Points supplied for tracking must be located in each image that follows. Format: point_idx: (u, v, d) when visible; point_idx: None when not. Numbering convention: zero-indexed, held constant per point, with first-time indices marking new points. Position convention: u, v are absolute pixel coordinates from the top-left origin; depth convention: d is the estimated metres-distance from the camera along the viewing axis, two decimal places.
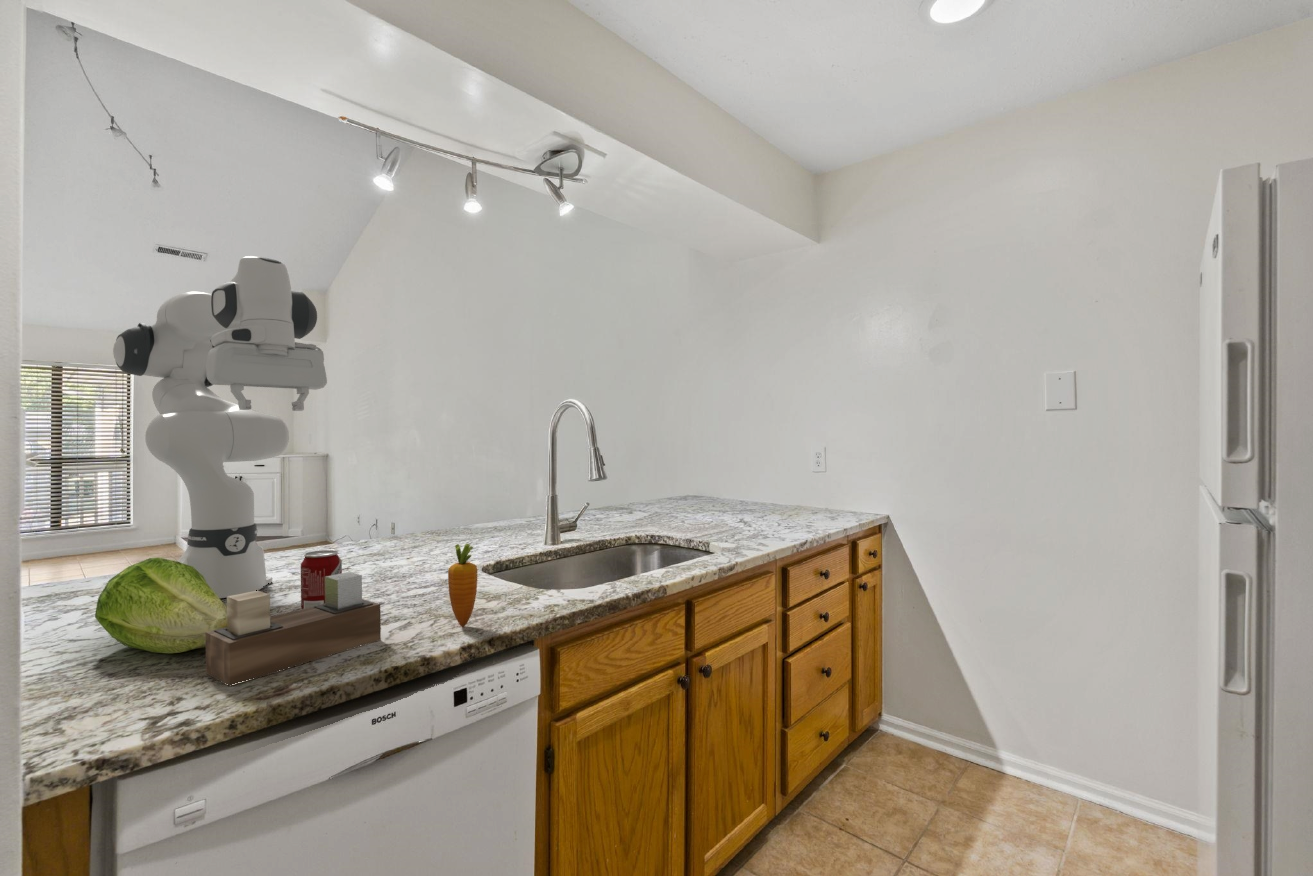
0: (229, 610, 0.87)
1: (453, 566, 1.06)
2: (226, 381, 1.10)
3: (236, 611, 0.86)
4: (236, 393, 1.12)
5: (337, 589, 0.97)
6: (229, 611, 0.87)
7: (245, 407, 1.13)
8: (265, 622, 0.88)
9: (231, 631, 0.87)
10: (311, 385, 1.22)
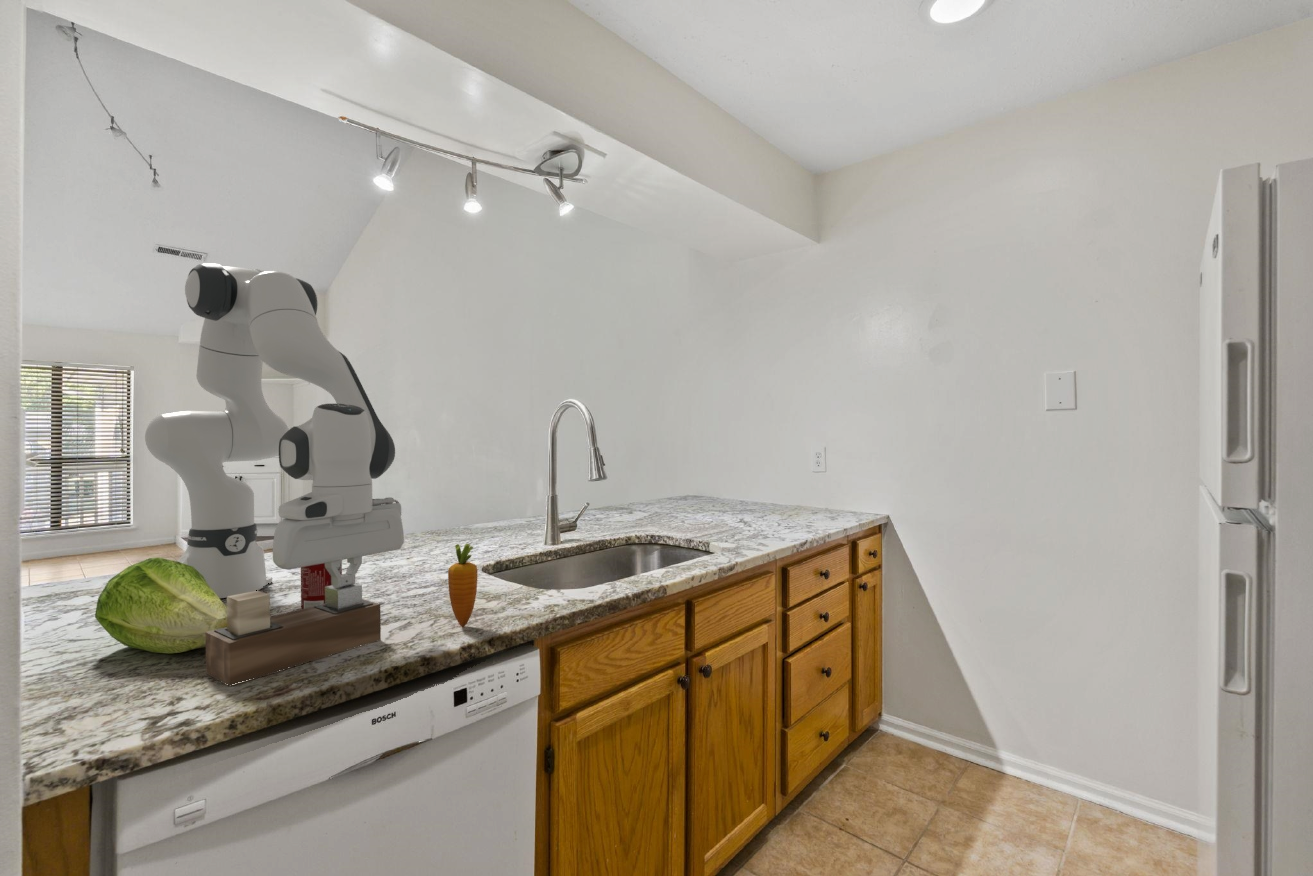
0: (229, 610, 0.87)
1: (453, 566, 1.06)
2: (296, 567, 0.92)
3: (236, 611, 0.86)
4: (332, 571, 0.98)
5: (337, 599, 0.97)
6: (229, 611, 0.87)
7: (340, 586, 0.98)
8: (265, 622, 0.88)
9: (231, 631, 0.87)
10: (387, 550, 1.04)
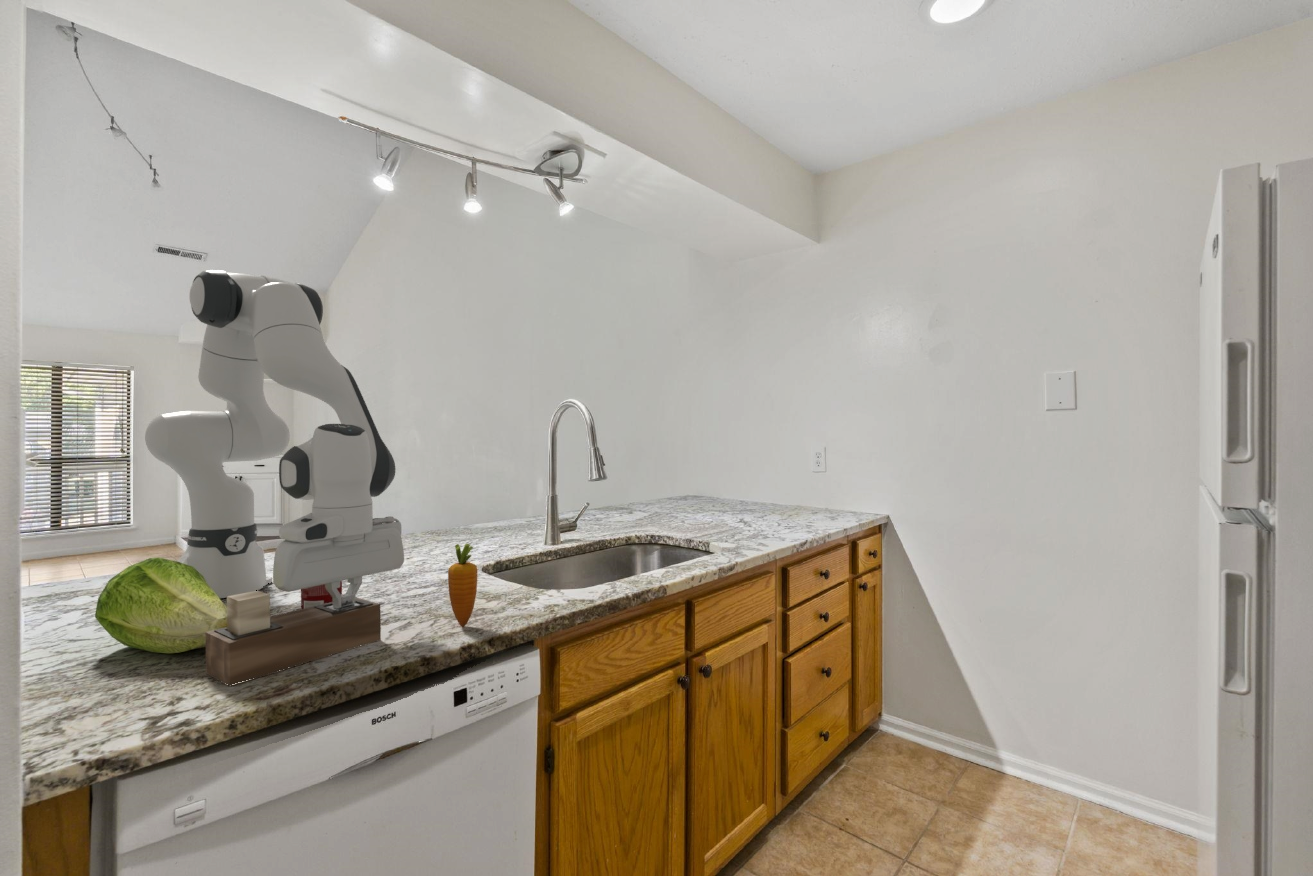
0: (229, 610, 0.87)
1: (453, 566, 1.06)
2: (296, 589, 0.92)
3: (236, 611, 0.86)
4: (332, 592, 0.98)
5: None
6: (229, 611, 0.87)
7: (340, 606, 0.99)
8: (265, 622, 0.88)
9: (231, 631, 0.87)
10: (387, 569, 1.04)
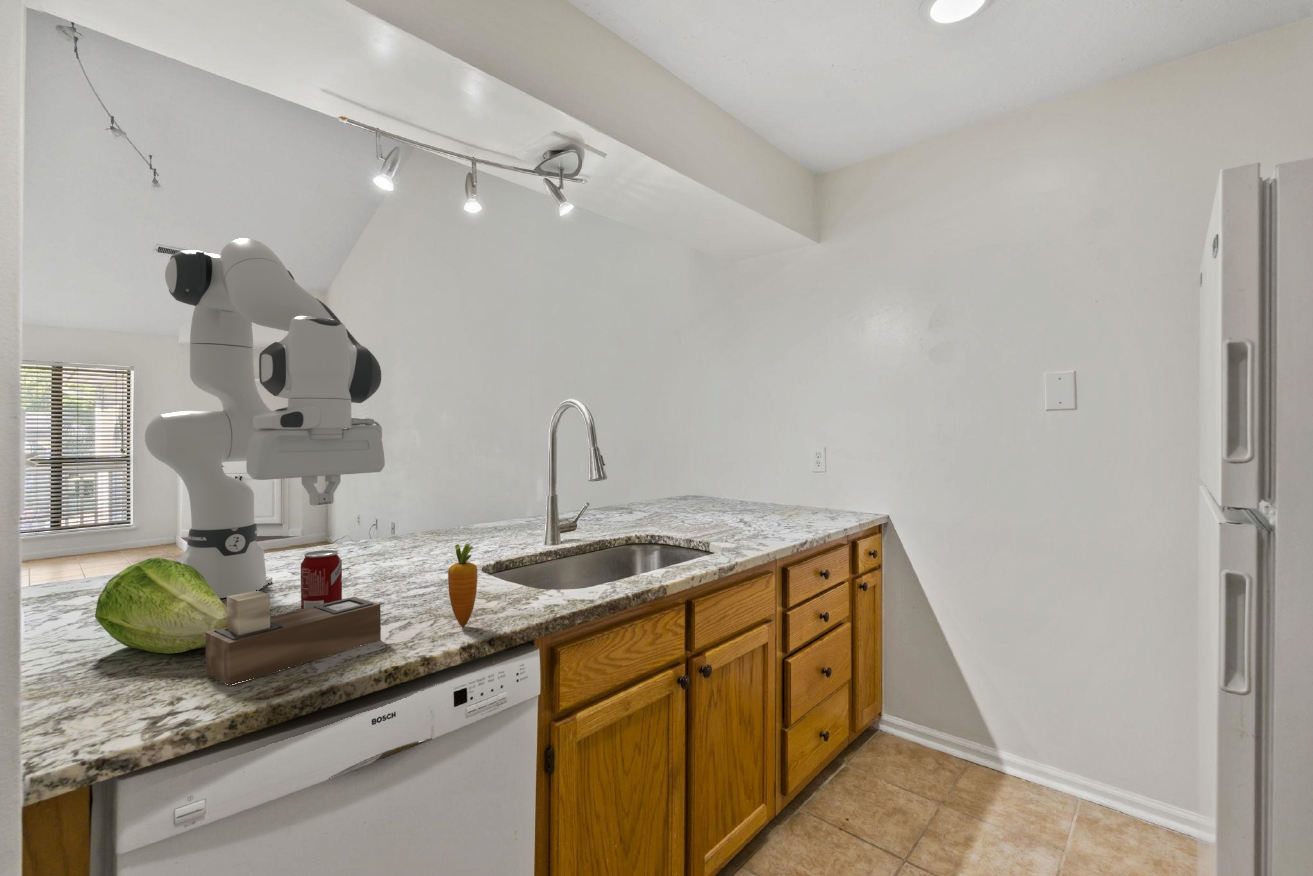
0: (229, 610, 0.87)
1: (453, 566, 1.06)
2: (271, 478, 0.89)
3: (236, 611, 0.86)
4: (308, 487, 0.94)
5: None
6: (229, 611, 0.87)
7: (318, 503, 0.95)
8: (265, 622, 0.88)
9: (231, 631, 0.87)
10: (367, 471, 1.01)
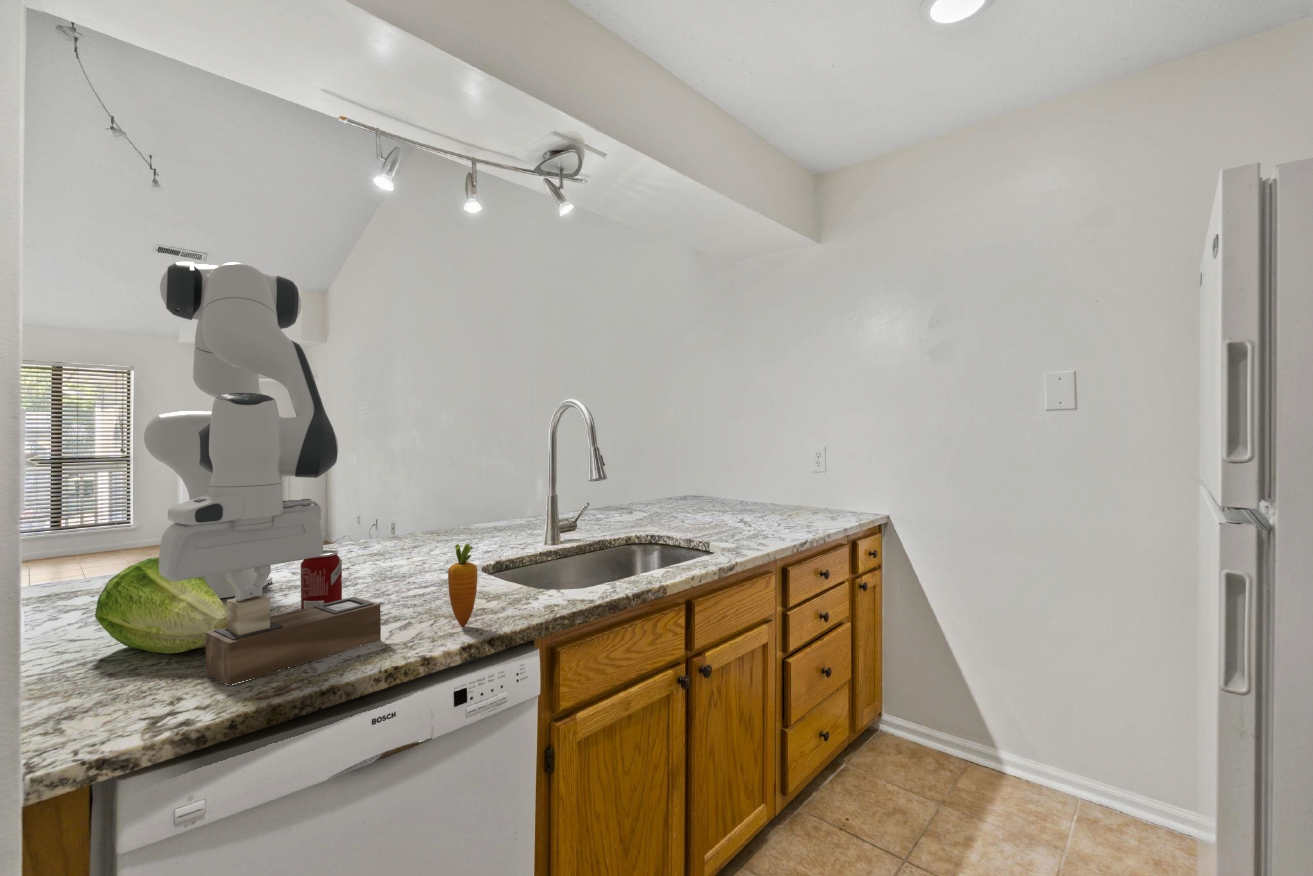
0: (229, 614, 0.87)
1: (453, 566, 1.06)
2: (185, 578, 0.80)
3: (236, 615, 0.86)
4: (232, 582, 0.86)
5: None
6: (229, 615, 0.87)
7: (243, 599, 0.87)
8: (265, 626, 0.88)
9: None
10: (302, 558, 0.93)
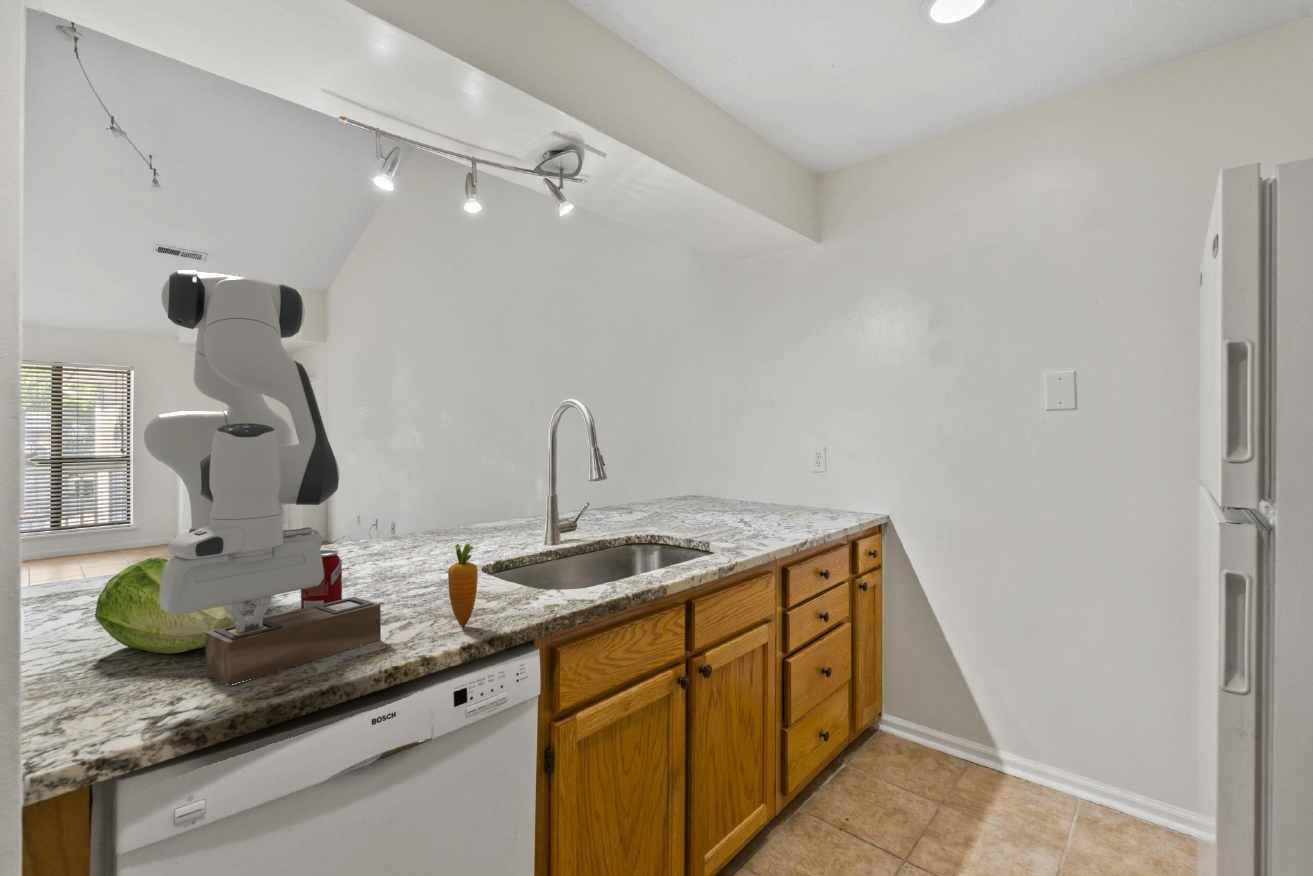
0: None
1: (453, 566, 1.06)
2: (185, 612, 0.80)
3: None
4: (233, 614, 0.86)
5: None
6: None
7: (244, 630, 0.87)
8: None
9: None
10: (303, 587, 0.93)
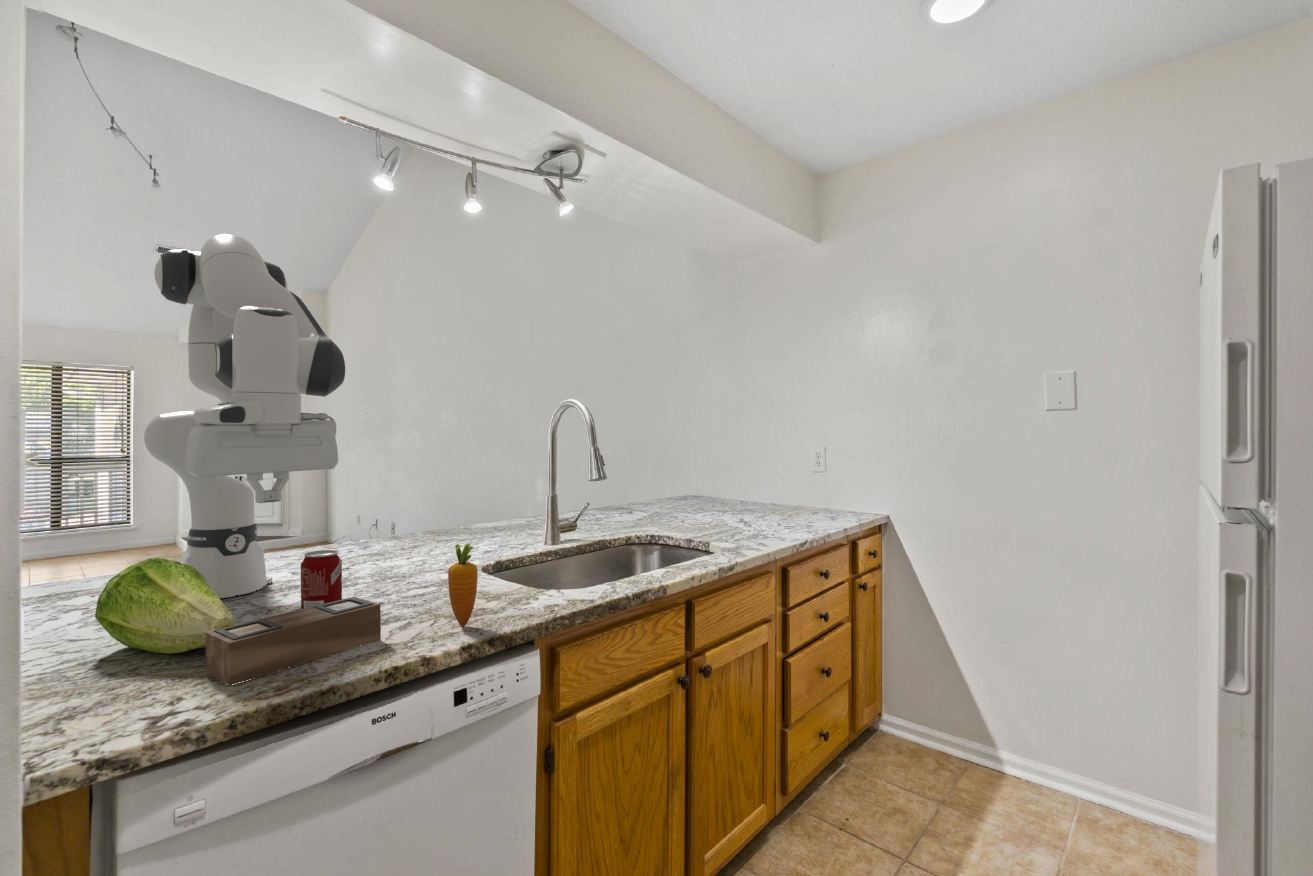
0: None
1: (453, 566, 1.06)
2: (210, 475, 0.86)
3: None
4: (253, 484, 0.91)
5: None
6: None
7: (263, 501, 0.92)
8: None
9: None
10: (318, 468, 0.98)
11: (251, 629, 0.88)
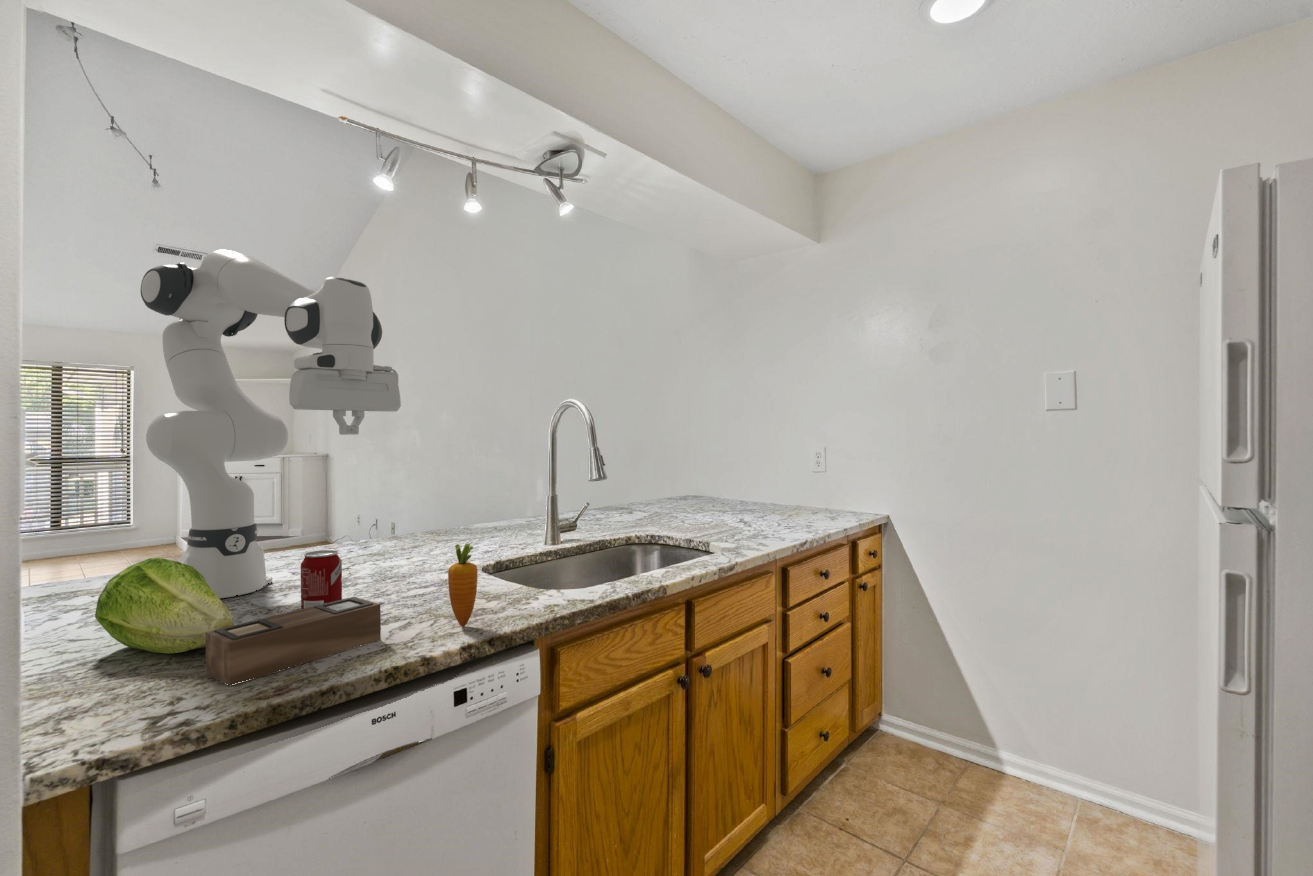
0: None
1: (453, 566, 1.06)
2: (309, 408, 1.09)
3: None
4: (339, 419, 1.14)
5: None
6: None
7: (346, 433, 1.15)
8: None
9: None
10: (386, 409, 1.21)
11: (251, 629, 0.88)
